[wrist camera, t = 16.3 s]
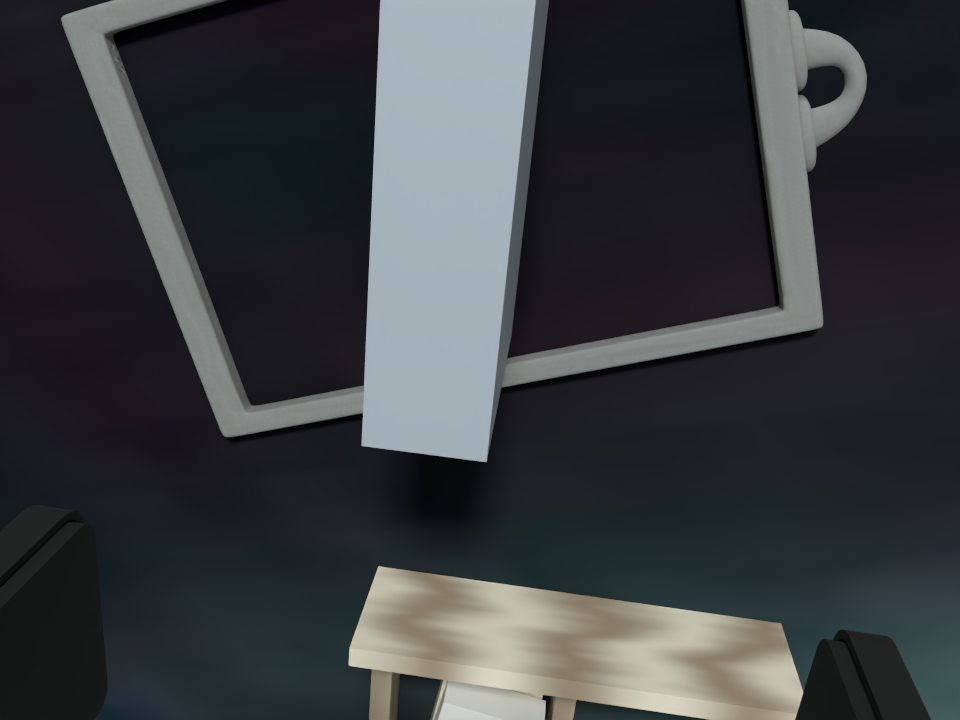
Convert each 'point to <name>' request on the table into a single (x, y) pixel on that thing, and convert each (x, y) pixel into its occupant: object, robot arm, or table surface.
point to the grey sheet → (447, 217)
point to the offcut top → (487, 704)
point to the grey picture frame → (785, 160)
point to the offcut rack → (570, 649)
